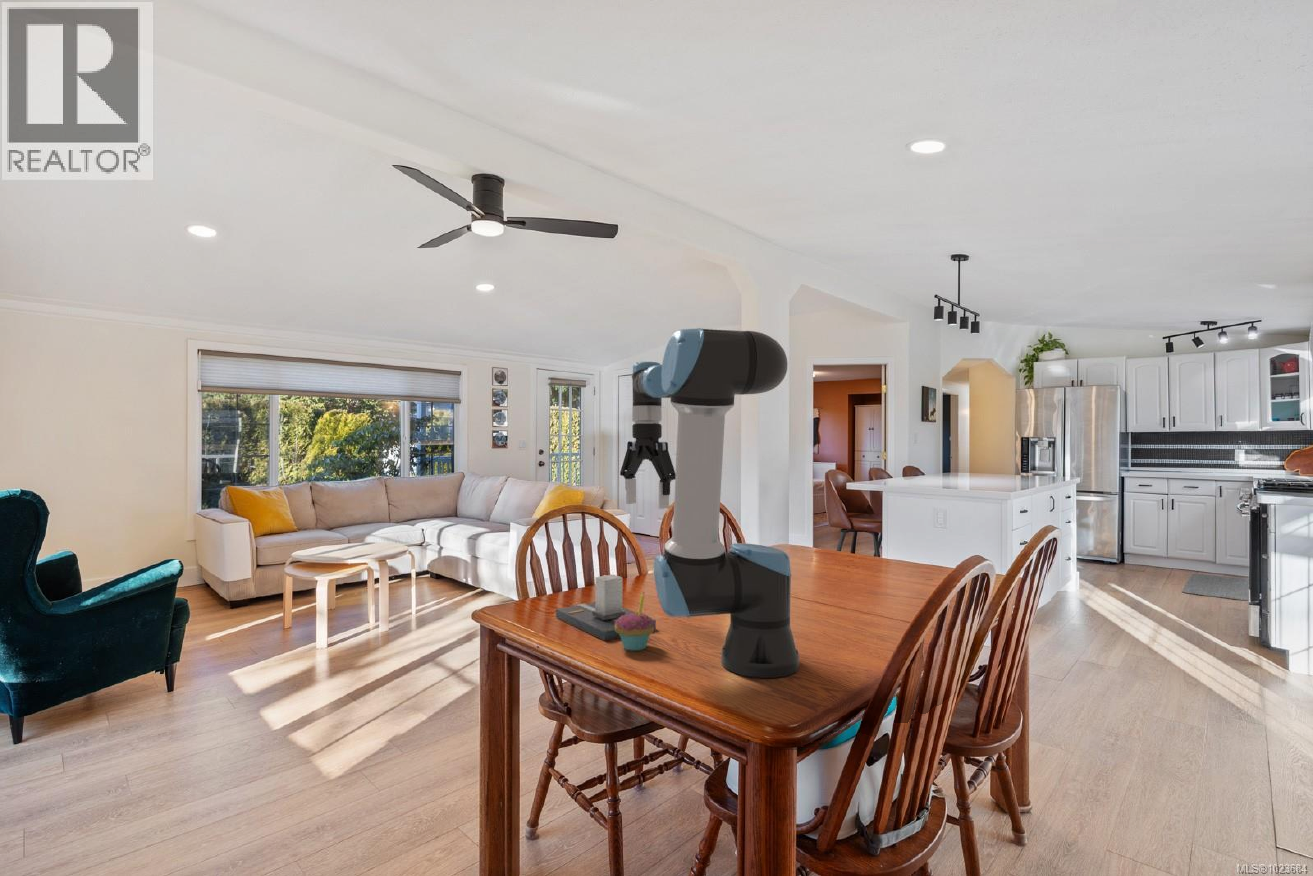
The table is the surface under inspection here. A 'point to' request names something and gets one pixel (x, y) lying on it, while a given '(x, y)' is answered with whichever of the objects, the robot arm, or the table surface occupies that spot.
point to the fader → (608, 597)
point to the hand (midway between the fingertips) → (646, 506)
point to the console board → (590, 620)
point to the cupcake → (634, 629)
